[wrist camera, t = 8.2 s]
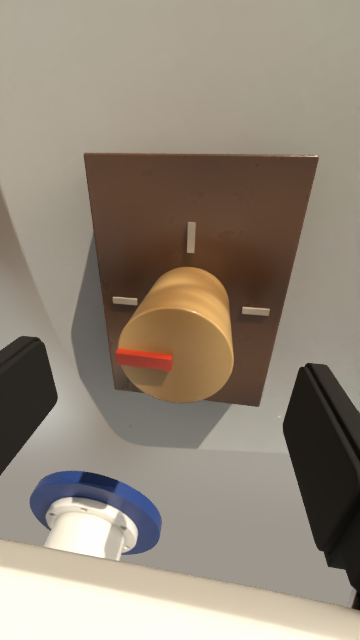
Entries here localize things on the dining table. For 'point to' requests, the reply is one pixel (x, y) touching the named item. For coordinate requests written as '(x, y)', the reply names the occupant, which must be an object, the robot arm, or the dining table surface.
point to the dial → (179, 338)
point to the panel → (201, 242)
